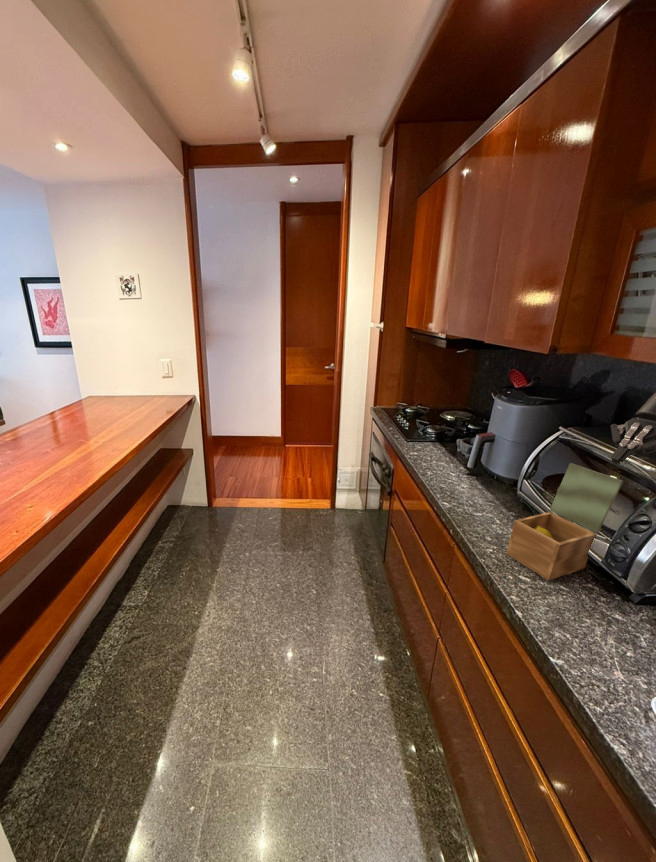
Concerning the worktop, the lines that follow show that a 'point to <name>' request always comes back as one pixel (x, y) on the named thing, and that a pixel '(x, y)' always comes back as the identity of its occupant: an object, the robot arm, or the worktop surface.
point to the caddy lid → (585, 496)
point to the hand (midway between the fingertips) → (615, 461)
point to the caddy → (550, 545)
